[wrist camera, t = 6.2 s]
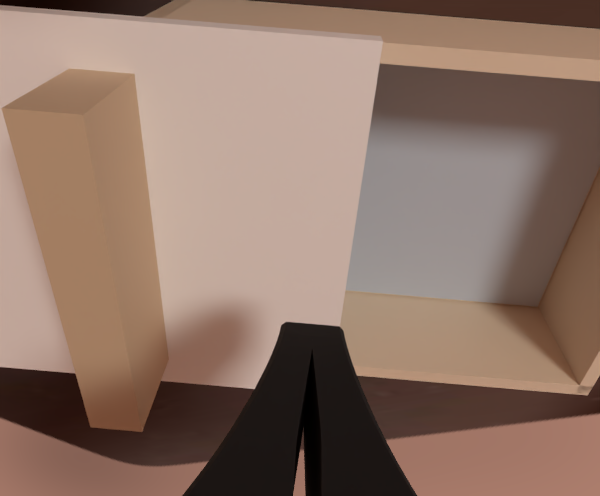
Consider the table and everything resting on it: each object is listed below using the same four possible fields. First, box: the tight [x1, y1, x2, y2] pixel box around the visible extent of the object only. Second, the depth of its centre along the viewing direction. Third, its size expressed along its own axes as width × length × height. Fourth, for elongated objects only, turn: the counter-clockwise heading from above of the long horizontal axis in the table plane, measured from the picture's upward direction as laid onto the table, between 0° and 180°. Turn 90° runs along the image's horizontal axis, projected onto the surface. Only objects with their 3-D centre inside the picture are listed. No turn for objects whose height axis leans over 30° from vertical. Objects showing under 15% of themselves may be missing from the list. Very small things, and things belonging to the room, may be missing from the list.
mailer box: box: [144, 0, 600, 395], centre depth 18 cm, size 16×12×5 cm
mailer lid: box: [0, 5, 383, 432], centre depth 14 cm, size 16×12×4 cm
